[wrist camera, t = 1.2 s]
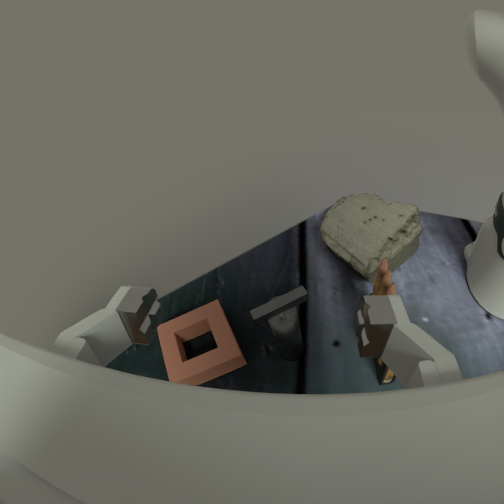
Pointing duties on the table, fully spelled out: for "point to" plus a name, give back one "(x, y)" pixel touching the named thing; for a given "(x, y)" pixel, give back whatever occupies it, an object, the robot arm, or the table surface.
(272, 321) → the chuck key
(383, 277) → the ammunition clip
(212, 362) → the orange square frame
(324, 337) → the table surface
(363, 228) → the concrete fragment
